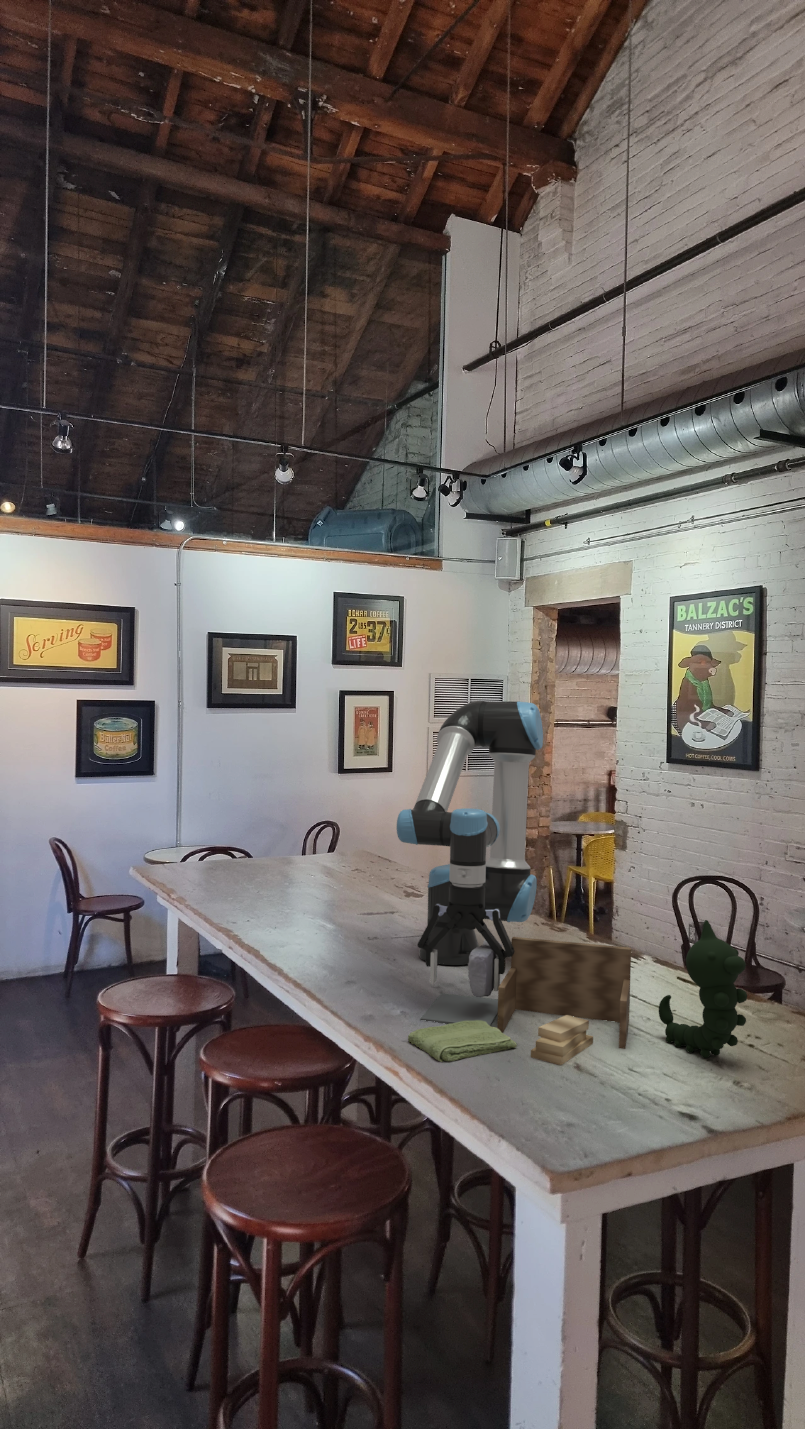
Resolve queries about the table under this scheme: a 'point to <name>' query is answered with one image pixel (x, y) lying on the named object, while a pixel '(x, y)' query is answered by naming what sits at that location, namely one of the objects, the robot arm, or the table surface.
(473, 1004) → the charcoal panel
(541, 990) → the walnut rack
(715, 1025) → the toy figurine
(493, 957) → the stone block
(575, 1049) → the offcut stack
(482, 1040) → the washcloth
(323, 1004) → the table surface
